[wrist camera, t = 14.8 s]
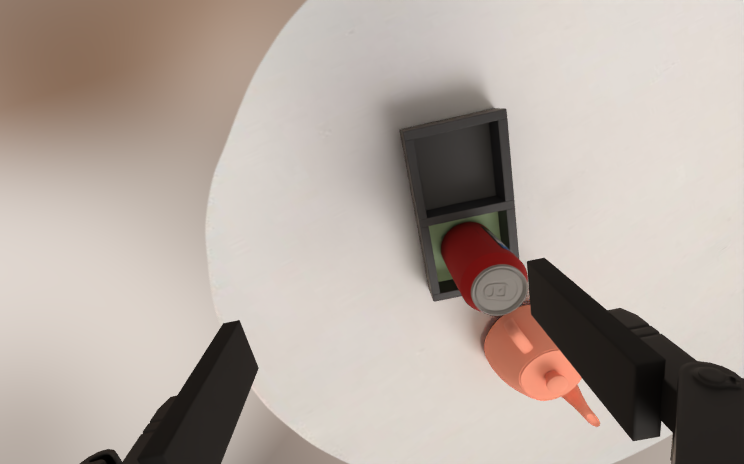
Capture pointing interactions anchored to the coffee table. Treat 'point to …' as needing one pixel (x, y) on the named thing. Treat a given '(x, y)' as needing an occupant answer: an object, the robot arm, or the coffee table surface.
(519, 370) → the teapot
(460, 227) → the beverage can
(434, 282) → the divided tray
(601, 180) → the coffee table surface
